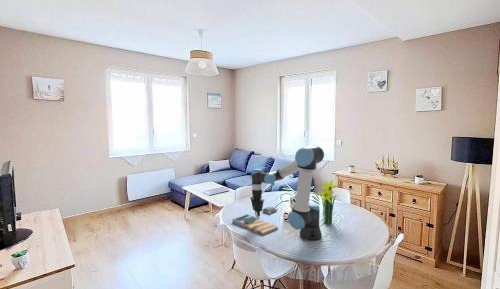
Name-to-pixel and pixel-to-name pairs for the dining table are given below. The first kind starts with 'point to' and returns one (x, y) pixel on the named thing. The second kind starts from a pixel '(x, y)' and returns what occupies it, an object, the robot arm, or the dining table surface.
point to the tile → (249, 219)
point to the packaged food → (269, 210)
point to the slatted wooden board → (261, 227)
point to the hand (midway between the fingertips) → (257, 219)
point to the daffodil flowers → (328, 201)
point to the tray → (241, 220)
